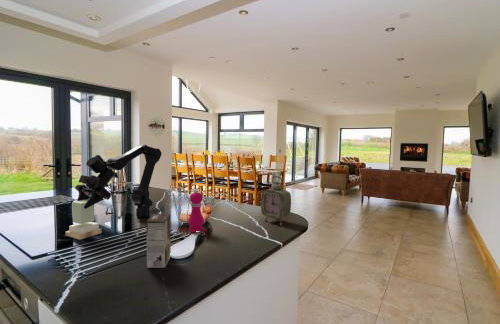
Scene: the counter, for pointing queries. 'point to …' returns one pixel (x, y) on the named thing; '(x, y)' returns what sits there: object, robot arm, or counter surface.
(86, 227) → the top block
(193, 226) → the pepper mill
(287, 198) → the tabletop clock
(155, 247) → the coffee box
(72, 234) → the bottom block
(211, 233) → the counter surface
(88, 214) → the sage block
